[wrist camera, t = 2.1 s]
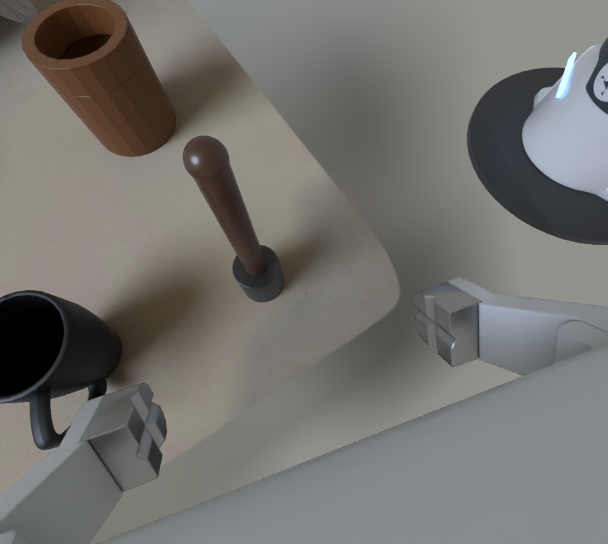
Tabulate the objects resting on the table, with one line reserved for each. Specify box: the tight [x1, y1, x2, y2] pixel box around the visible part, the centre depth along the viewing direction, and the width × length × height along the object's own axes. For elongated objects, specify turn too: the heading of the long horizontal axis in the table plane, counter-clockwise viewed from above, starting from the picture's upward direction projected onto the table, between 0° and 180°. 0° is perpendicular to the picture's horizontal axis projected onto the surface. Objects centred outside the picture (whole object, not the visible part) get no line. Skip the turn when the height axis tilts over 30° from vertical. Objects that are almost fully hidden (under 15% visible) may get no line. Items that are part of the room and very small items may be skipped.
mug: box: [0, 290, 122, 450], centre depth 28 cm, size 8×12×10 cm
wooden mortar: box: [22, 0, 176, 156], centre depth 37 cm, size 10×10×12 cm
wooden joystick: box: [183, 136, 284, 302], centre depth 25 cm, size 4×4×21 cm
